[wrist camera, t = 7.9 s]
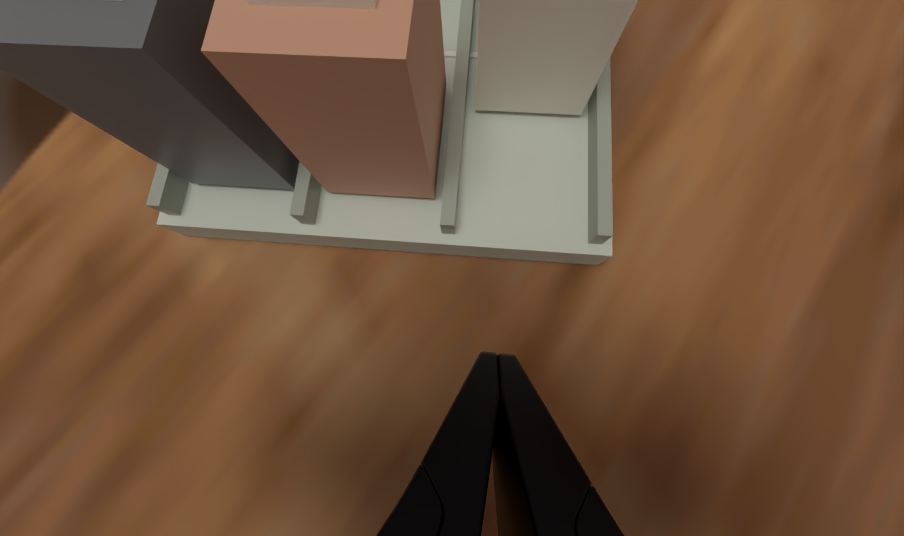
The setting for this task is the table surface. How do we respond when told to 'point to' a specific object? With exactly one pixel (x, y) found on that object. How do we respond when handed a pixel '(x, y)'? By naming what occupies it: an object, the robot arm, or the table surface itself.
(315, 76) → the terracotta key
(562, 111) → the cream box
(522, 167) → the pale green divided tray
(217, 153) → the black block
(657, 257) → the table surface
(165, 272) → the table surface
